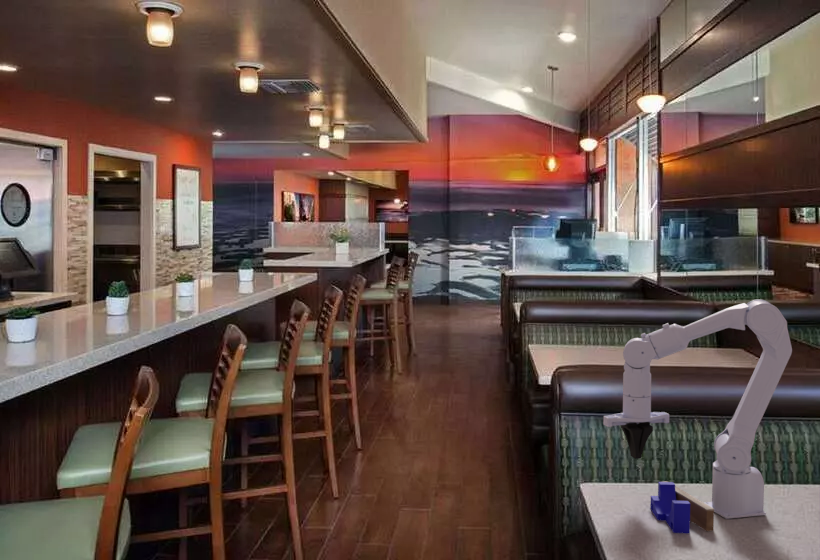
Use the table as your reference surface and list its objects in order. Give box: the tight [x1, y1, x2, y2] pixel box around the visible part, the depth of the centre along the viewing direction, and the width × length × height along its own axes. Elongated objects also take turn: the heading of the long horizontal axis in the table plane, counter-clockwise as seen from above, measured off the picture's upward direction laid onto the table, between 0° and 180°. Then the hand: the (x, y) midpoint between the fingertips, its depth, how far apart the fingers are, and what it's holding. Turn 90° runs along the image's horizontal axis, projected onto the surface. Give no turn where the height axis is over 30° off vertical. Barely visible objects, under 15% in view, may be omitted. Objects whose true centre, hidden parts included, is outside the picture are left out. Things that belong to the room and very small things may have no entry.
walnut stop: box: [663, 480, 715, 532], centre depth 146 cm, size 2×16×4 cm, turn 13°
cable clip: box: [649, 481, 691, 534], centre depth 144 cm, size 12×4×6 cm, turn 175°
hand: (635, 457), depth 154 cm, fingers closed
